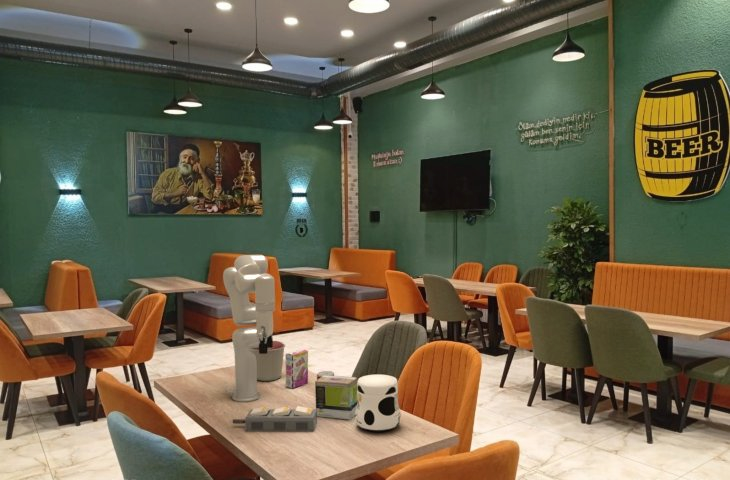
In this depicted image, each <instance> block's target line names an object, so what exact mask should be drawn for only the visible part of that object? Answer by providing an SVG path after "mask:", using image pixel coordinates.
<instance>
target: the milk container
mask: <svg viewBox="0 0 730 480" xmlns="http://www.w3.org/2000/svg"><path fill="white" fill-rule="evenodd" d="M357 398H358V401H357V407H356V411H355V415H354V416H355V422H356V424H357V426H358V427H360V429H362V430H365V431H368V432H387V431H390V430H394V429H395V428H396V427H398V426H399V424H400V421H401V409H400V404H399V385H398V379H397V378H396V377H394V376H393V375H388V374H368V375H363V376H361V377H359V378H357Z"/></svg>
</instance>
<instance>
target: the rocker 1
mask: <svg viewBox="0 0 730 480" xmlns="http://www.w3.org/2000/svg"><path fill="white" fill-rule="evenodd" d="M269 407H270V406H269V405H267V406H261V407H258V408H252V409H253V410H252V412H251V413H250V415H251V416H261V415H266V414H267V413H268V411H269V409H270V408H269Z"/></svg>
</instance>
